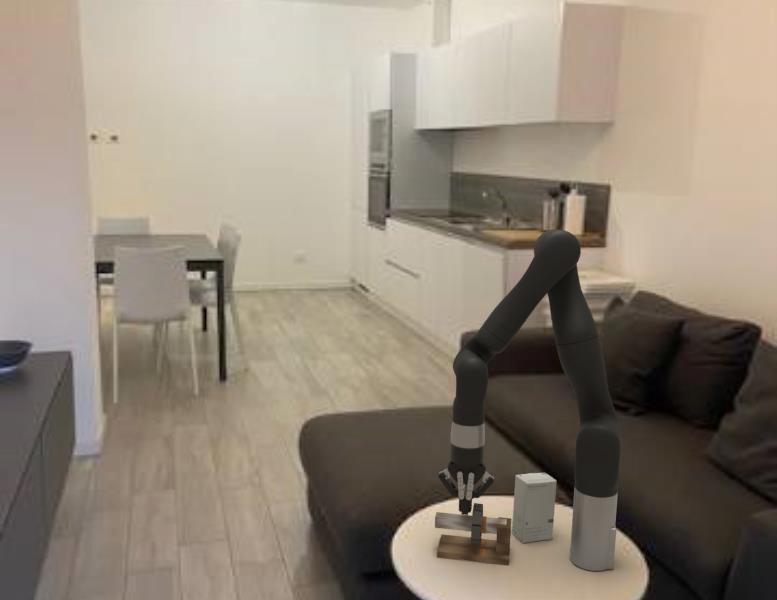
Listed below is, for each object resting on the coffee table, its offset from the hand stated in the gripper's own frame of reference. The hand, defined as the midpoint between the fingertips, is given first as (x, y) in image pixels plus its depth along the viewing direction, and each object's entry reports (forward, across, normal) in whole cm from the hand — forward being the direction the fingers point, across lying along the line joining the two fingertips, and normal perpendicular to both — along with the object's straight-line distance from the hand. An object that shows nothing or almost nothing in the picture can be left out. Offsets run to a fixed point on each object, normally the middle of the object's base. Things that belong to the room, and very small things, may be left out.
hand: (464, 513), depth 174 cm
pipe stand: (+9, -2, 0) cm, 10 cm away
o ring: (+7, -3, 0) cm, 7 cm away
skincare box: (+10, -15, -11) cm, 21 cm away
